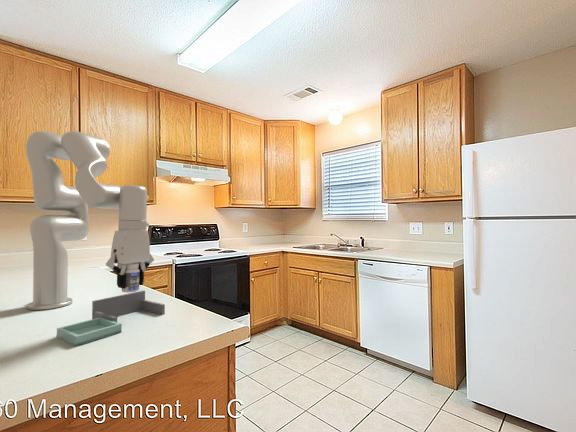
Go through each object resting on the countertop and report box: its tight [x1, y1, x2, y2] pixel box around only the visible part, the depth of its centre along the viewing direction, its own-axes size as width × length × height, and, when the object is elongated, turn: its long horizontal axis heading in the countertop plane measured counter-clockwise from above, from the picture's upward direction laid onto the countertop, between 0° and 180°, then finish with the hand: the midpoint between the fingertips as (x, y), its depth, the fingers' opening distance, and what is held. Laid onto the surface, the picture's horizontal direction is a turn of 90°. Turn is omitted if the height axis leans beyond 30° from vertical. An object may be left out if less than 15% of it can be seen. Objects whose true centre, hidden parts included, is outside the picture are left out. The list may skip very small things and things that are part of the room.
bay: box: [91, 290, 166, 323], centre depth 93 cm, size 12×16×6 cm
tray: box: [56, 317, 123, 347], centre depth 79 cm, size 11×11×2 cm
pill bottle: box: [121, 263, 140, 294], centre depth 93 cm, size 5×5×8 cm
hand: (130, 285), depth 93 cm, fingers closed on pill bottle, 4 cm apart
